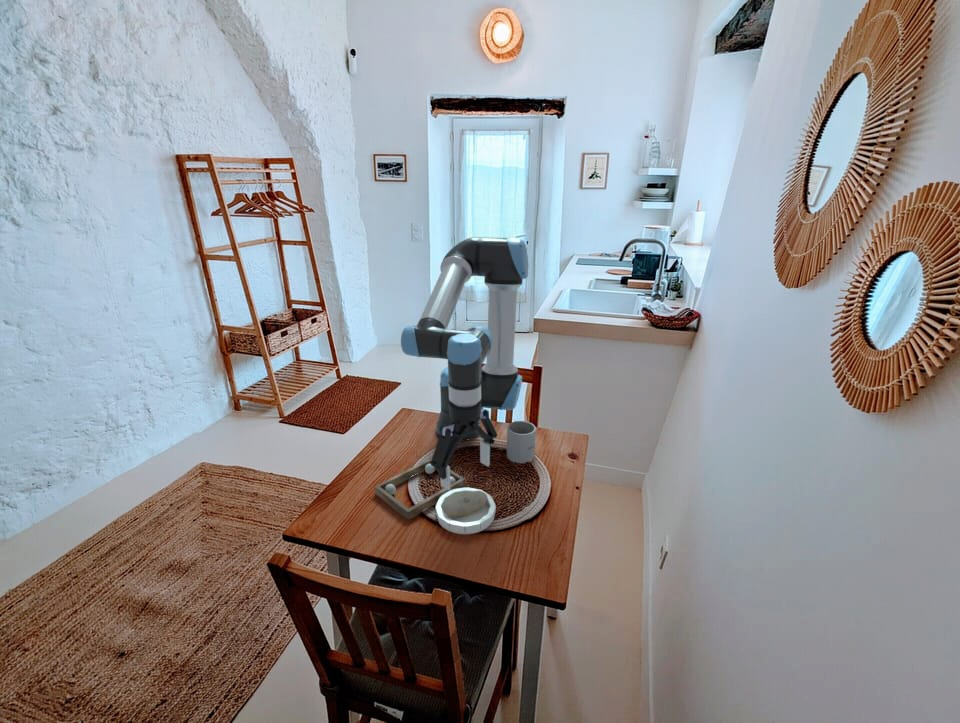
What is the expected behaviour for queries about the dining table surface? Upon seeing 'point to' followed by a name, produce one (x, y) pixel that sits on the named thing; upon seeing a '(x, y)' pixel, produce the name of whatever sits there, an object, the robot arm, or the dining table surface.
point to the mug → (521, 441)
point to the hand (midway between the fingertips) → (466, 475)
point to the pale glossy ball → (429, 469)
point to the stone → (464, 503)
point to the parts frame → (422, 505)
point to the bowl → (468, 522)
